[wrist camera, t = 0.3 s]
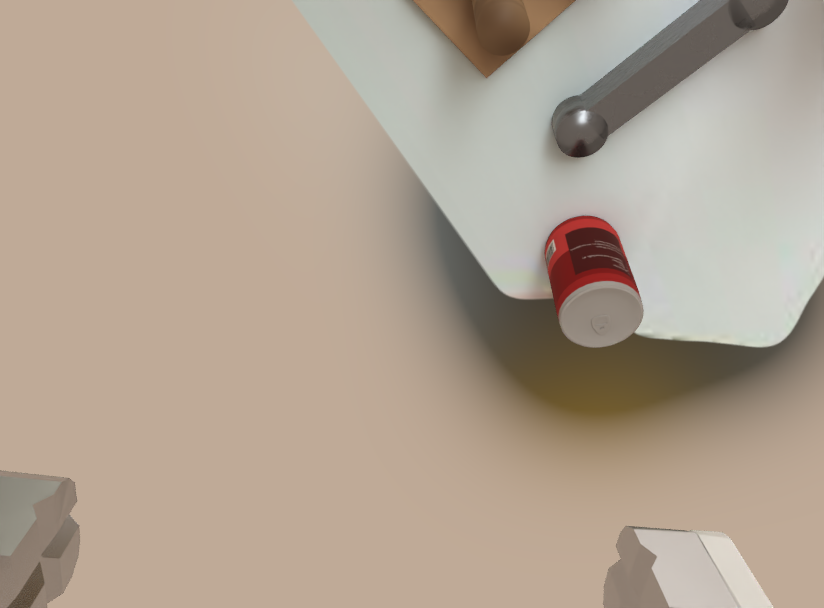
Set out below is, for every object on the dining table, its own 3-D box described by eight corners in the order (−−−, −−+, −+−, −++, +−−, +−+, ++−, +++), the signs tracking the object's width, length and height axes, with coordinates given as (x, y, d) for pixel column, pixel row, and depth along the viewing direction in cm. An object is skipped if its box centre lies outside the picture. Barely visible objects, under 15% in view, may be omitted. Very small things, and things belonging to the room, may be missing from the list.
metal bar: (758, -56, 52) (774, -44, 50) (784, -13, 54) (800, 1, 52) (541, 117, 62) (546, 134, 60) (570, 149, 64) (576, 166, 62)
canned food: (562, 284, 75) (579, 358, 67) (530, 234, 71) (544, 307, 62) (630, 255, 72) (657, 329, 64) (601, 200, 68) (625, 273, 60)
